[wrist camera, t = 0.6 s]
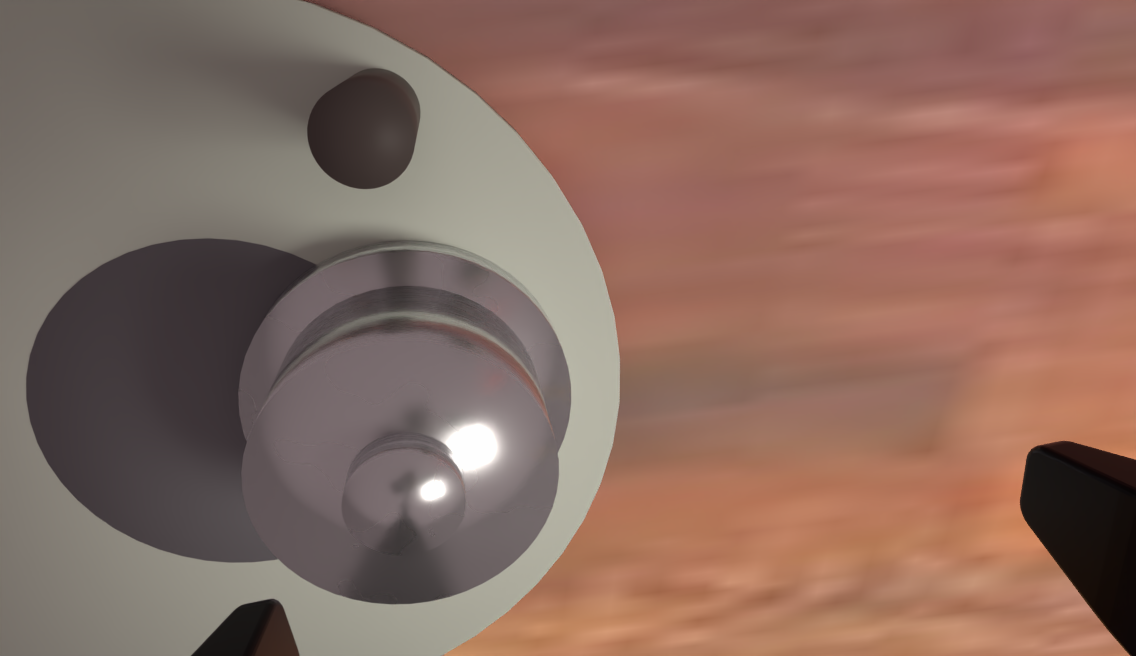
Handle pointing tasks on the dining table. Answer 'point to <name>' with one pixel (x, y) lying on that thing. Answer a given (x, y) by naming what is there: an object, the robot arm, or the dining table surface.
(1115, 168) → the dining table surface
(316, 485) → the cover cap
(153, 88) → the turntable
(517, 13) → the dining table surface
